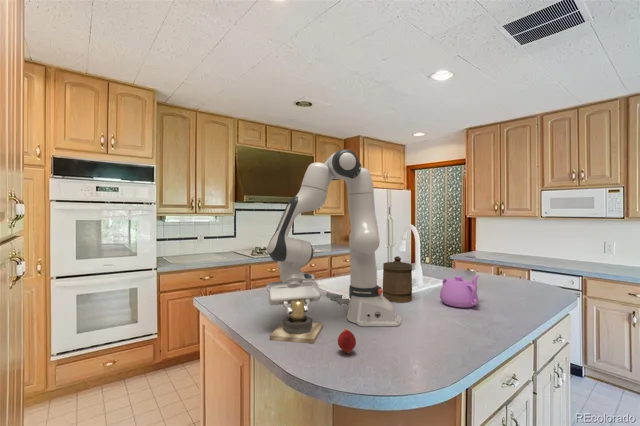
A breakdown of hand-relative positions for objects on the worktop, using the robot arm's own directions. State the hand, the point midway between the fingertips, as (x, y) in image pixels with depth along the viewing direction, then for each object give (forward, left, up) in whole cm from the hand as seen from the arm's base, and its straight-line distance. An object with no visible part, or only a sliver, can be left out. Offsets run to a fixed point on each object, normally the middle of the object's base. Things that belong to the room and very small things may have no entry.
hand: (298, 312), depth 120 cm
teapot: (-69, -54, -8) cm, 87 cm away
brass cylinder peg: (0, 0, -5) cm, 5 cm away
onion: (-20, +12, -8) cm, 25 cm away
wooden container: (-38, -57, -8) cm, 68 cm away
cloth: (-8, -50, -9) cm, 51 cm away
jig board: (0, -1, -8) cm, 8 cm away
